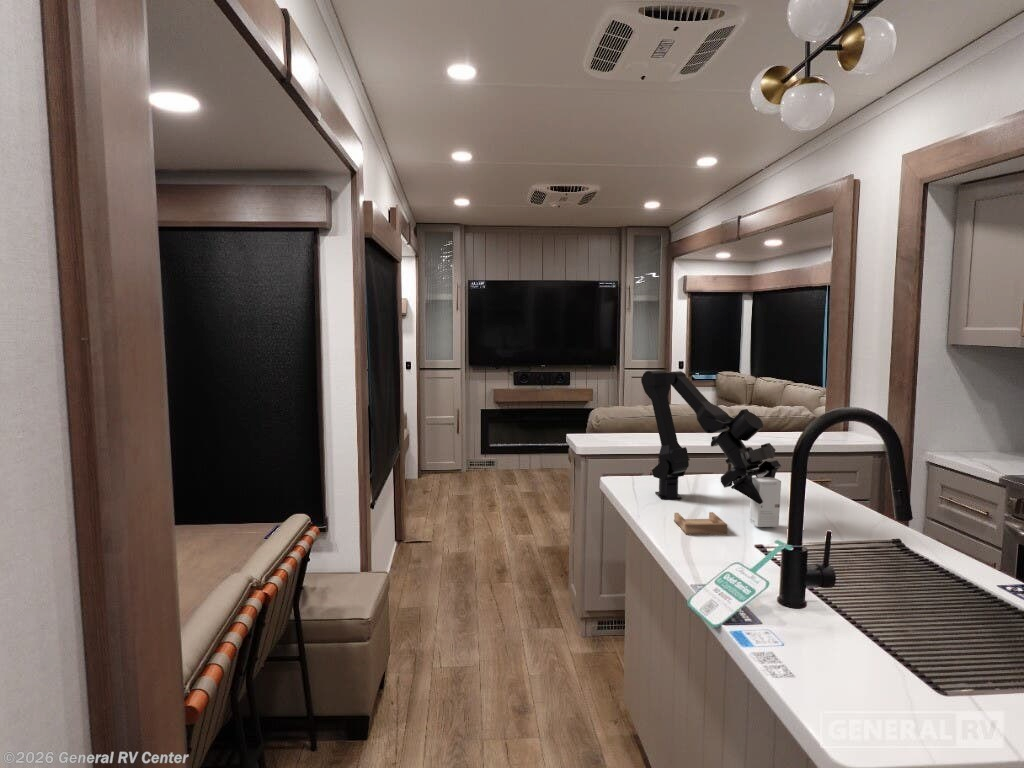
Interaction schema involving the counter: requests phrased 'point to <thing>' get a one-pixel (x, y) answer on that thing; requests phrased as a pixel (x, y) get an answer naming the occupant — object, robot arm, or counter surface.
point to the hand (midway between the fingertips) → (770, 500)
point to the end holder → (701, 525)
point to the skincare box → (766, 502)
